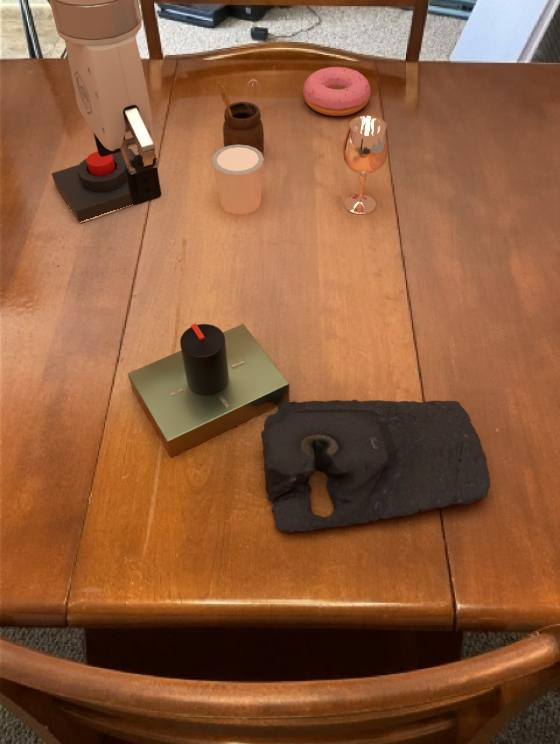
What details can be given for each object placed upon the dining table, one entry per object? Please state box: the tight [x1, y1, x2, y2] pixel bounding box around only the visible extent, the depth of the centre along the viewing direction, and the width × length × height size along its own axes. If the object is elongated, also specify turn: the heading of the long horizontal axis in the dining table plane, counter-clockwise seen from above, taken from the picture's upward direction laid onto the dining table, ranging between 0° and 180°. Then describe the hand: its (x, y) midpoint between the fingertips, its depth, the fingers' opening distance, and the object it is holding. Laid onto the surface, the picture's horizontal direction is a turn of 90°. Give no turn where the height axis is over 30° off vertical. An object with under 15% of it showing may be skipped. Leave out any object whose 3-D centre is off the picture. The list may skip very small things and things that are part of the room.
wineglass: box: [342, 115, 389, 215], centre depth 90 cm, size 6×6×12 cm
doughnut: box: [301, 66, 372, 117], centre depth 110 cm, size 11×11×4 cm
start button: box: [85, 151, 115, 176], centre depth 93 cm, size 4×4×2 cm
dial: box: [179, 322, 229, 395], centre depth 69 cm, size 4×4×6 cm
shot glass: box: [211, 145, 265, 216], centre depth 92 cm, size 7×7×7 cm
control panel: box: [127, 323, 290, 458], centre depth 72 cm, size 14×10×3 cm
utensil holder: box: [216, 78, 265, 156], centre depth 98 cm, size 6×6×12 cm
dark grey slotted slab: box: [260, 399, 491, 534], centre depth 66 cm, size 15×22×5 cm
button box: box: [51, 148, 137, 223], centre depth 95 cm, size 12×10×4 cm
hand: (129, 175), depth 73 cm, fingers open, 9 cm apart
